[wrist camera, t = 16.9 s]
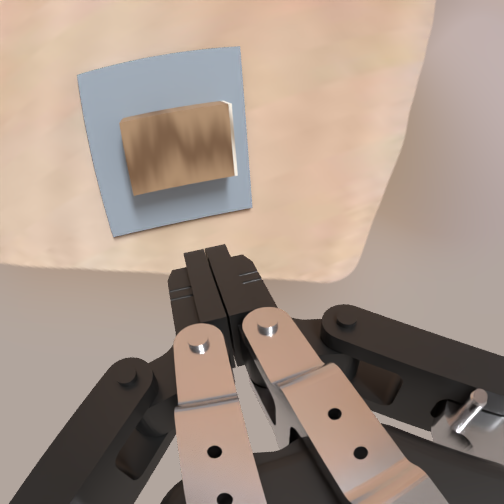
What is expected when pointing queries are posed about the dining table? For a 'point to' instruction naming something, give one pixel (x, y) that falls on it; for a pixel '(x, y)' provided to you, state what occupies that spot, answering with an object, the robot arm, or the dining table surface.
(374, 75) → the dining table surface
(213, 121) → the slab
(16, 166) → the dining table surface
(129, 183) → the mat
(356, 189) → the dining table surface
